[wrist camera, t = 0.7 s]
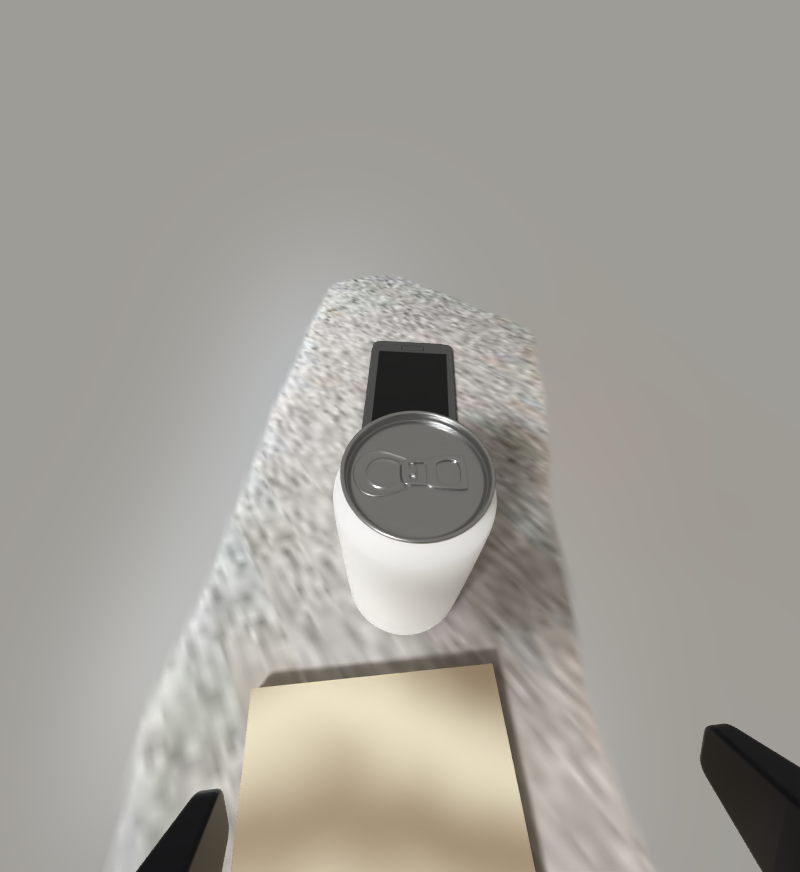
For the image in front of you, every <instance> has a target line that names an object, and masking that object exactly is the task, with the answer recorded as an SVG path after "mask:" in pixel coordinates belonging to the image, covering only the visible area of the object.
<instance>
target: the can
mask: <svg viewBox="0 0 800 872" xmlns="http://www.w3.org/2000/svg"><path fill="white" fill-rule="evenodd" d="M495 485H496V475H495V469H494V465H493V461H492V459H491V456H490V454H489V452H488V450H487V449H486V447H485V446H484V444H483V443H482V442H481V440H480V439H479V438H478V437H477V436H476V435H475V434H474V433H473V432H472V431H471V430H469V429H468V428H467V427H465V426H464V425H462V424H461V423H459V422H457V421H455V420H453V419H451V418H448V417H446V416H443V415H440V414H436V413H432V412H425V411H403V412H397V413H392V414H389V415H386V416H383V417H380V418H378V419H376V420H374V421H372V422H371V423H369V424H368V425H366V426H365V427H364V428H362V429H361V430H360V431H359V432H358V433H357V434H356V435H355V436H354V437H353V439H352V440H351V441H350V443H349V444H348V446H347V448H346V450H345V452H344V455H343V458H342V461H341V467H340V469H339V471H338V474H337V477H336V480H335V485H334V494H333V503H334V512H335V518H336V523H337V529H338V533H339V538H340V543H341V548H342V553H343V557H344V562H345V567H346V571H347V576H348V580H349V584H350V589H351V593H352V596H353V599H354V601H355V604H356V606H357V607H358V609H359V611H360V612H361V613H362V615H363V616H364V617H365V618H366V619H367V620H368V621H369V622H370V623H372V624H373V625H374V626H376V627H378V628H379V629H381V630H383V631H386V632H389V633H393V634H398V635H412V634H418V633H421V632H424V631H426V630H429V629H431V628H432V627H434V626H435V625H437V624H438V623H439V622H440V621H442V620H443V619H444V618H445V616H446V615H447V614H448V613H449V611H450V610H451V608H452V607H453V605H454V603H455V601H456V599H457V598H458V596H459V594H460V592H461V590H462V588H463V586H464V584H465V582H466V580H467V578H468V576H469V574H470V572H471V571H472V569H473V567H474V565H475V563H476V561H477V559H478V557H479V555H480V553H481V551H482V549H483V547H484V545H485V542H486V540H487V538H488V536H489V534H490V531H491V529H492V526H493V523H494V519H495V515H496V509H497V495H496V489H495Z"/></svg>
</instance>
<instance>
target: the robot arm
mask: <svg viewBox="0 0 800 872" xmlns="http://www.w3.org/2000/svg"><path fill="white" fill-rule="evenodd" d="M700 762H701V766H702V769H703V771H704V773H705V775H706V777H707V779H708V781H709V782H710V784H711V786H712V787H713V789H714V791H715V792H716V794H717V796H718V798H719V799H720V801H721V803H722V804H723V806H724V808H725V809H726V811H727V813H728V814H729V816H730V818H731V820H732V821H733V823H734V825H735V826H736V828H737V830H738V831H739V833H740V835H741V836H742V838H743V840H744V842H745V843H746V845H747V847H748V848H749V850H750V852H751V853H752V855H753V857H754V858H755V860H756V862H757V864H758V865H759V867H760V868H761V870H762V872H800V767H799V766H797V765H795V764H794V763H792V762H790V761H789V760H787V759H786V758H784V757H782V756H781V755H779V754H777V753H776V752H774V751H772V750H771V749H769V748H768V747H766V746H764V745H763V744H761V743H760V742H758V741H756V740H755V739H753V738H752V737H750V736H748V735H747V734H745V733H744V732H742V731H740V730H739V729H737V728H735V727H733V726H731V725H728V724H718V725H710V726H707V727H706V728H705V731H704V736H703V742H702V748H701V754H700ZM228 832H229V823H228V817H227V812H226V806H225V801H224V796H223V792H222V791H221V790H220V789H211V790H203V791H199V792H197V793H196V794H195V795H194V796H193V797H192V798H191V799H190V801H189V802H188V803H187V805H186V806H185V807H184V809H183V810H182V811H181V813H180V814H179V815H178V817H177V818H176V819H175V821H174V822H173V823H172V825H171V826H170V827H169V829H168V830H167V831H166V833H165V834H164V835H163V837H162V838H161V839H160V841H159V842H158V843H157V845H156V846H155V847H154V849H153V850H152V851H151V853H150V854H149V855H148V857H147V858H146V859H145V861H144V862H143V863H142V865H141V866H140V867H139V869H138V870H137V871H136V872H222V867H223V862H224V857H225V851H226V846H227V840H228Z"/></svg>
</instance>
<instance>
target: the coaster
mask: <svg viewBox="0 0 800 872" xmlns="http://www.w3.org/2000/svg"><path fill="white" fill-rule="evenodd" d="M231 872H536V871H535V866H534V862H533V857H532V852H531V847H530V842H529V837H528V833H527V828H526V823H525V818H524V813H523V808H522V804H521V799H520V794H519V789H518V784H517V779H516V775H515V770H514V765H513V760H512V755H511V750H510V746H509V741H508V736H507V731H506V726H505V721H504V716H503V712H502V707H501V702H500V697H499V692H498V687H497V683H496V678H495V673H494V668H493V663H490V664H481V665H471V666H462V667H452V668H442V669H433V670H423V671H414V672H404V673H395V674H385V675H376V676H366V677H356V678H347V679H337V680H328V681H318V682H309V683H299V684H289V685H280V686H270V687H261V688H251V696H250V705H249V714H248V723H247V732H246V741H245V750H244V759H243V768H242V777H241V786H240V794H239V803H238V812H237V821H236V830H235V839H234V848H233V857H232V866H231Z"/></svg>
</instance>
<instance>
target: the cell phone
mask: <svg viewBox="0 0 800 872" xmlns="http://www.w3.org/2000/svg"><path fill="white" fill-rule="evenodd" d="M403 411H425V412H432V413H436V414H440V415H443V416H446V417H448V418H451V419H453V420H455V421H457V419H456V403H455V386H454V370H453V354H452V349H451V347H450V346H448V345H443V344H430V343H411V342H392V341H377V342H375V343H374V344H373V348H372V353H371V361H370V368H369V376H368V384H367V392H366V400H365V408H364V415H363V423H362V428H364V427H365V426H366V425H368V424H369V423H371V422H372V421H374V420H376V419H378V418H380V417H383V416H386V415H389V414H392V413H397V412H403Z"/></svg>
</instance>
